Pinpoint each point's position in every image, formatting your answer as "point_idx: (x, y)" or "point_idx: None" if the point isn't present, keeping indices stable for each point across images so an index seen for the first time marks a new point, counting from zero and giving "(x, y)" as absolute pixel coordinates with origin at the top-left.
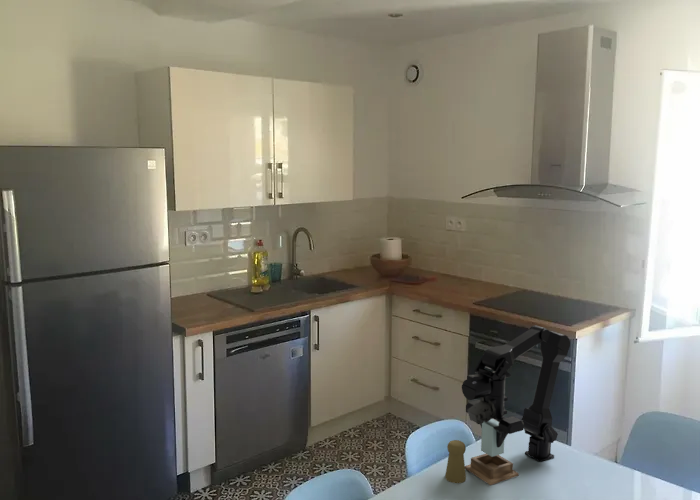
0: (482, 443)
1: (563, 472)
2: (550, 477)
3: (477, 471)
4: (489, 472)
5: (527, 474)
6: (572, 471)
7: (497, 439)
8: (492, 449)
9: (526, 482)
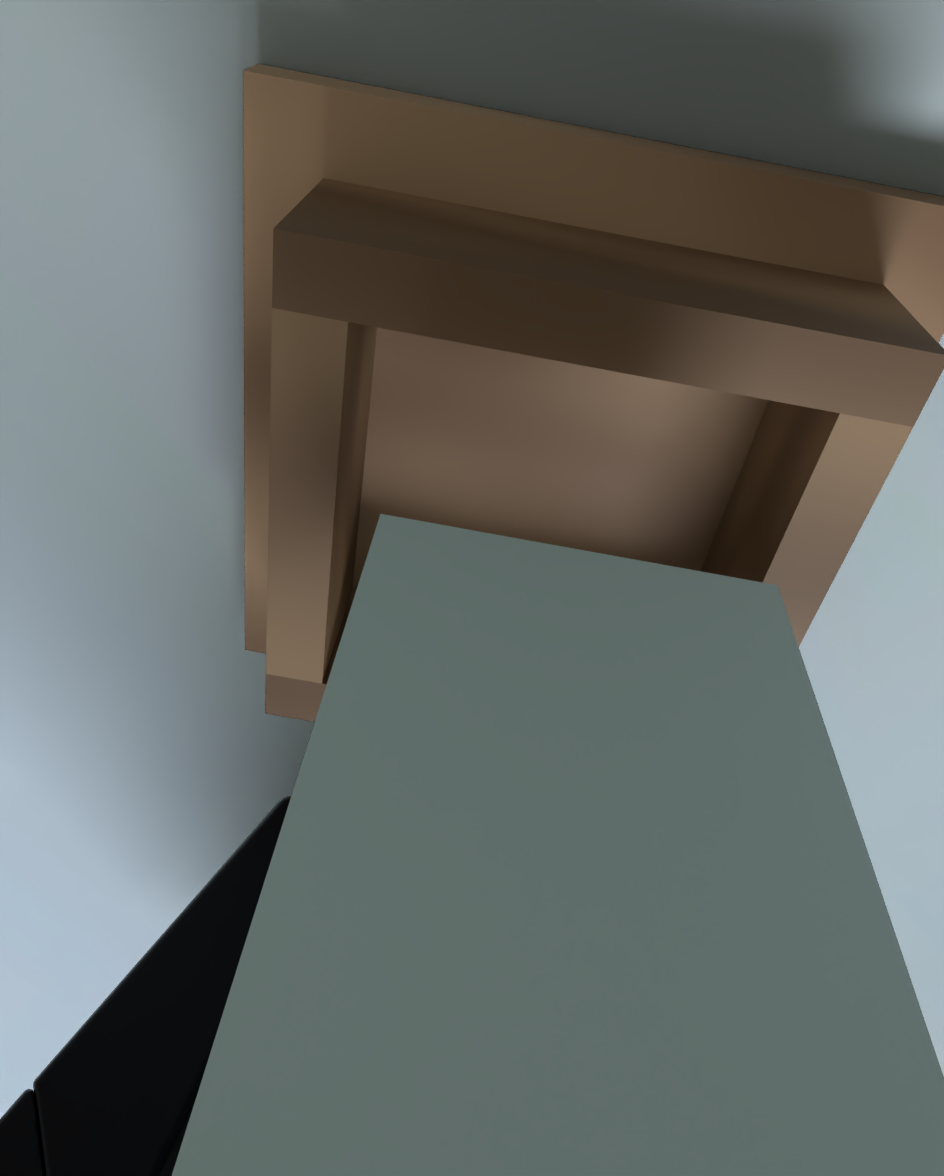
0: (776, 730)
1: (95, 912)
2: (66, 797)
3: (680, 236)
4: (330, 215)
5: (227, 709)
6: (78, 954)
7: (145, 1031)
8: (341, 653)
9: (79, 567)
